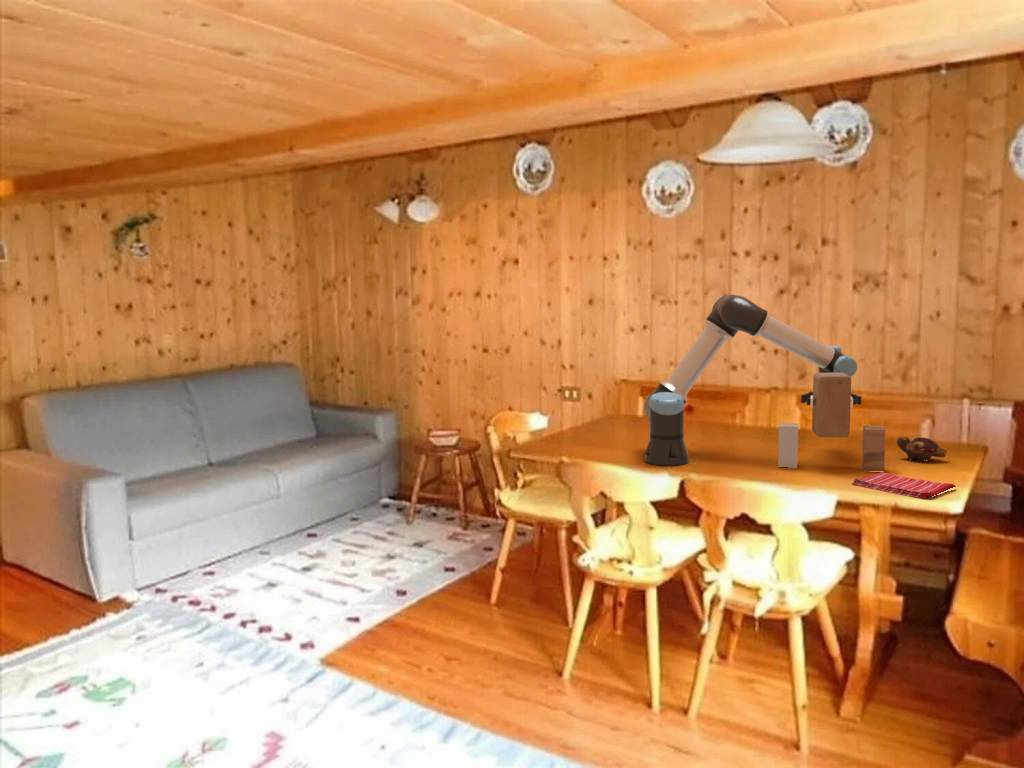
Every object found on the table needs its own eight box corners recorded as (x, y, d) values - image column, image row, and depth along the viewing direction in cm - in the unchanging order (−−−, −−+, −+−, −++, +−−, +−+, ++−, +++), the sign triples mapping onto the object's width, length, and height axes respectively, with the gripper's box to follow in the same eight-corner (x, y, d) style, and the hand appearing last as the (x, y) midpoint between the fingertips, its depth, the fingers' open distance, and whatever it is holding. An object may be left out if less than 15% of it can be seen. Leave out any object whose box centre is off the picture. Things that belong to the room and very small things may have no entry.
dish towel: (928, 502, 227) (929, 493, 226) (850, 486, 246) (850, 477, 245) (958, 491, 237) (958, 482, 236) (880, 477, 256) (881, 468, 255)
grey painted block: (797, 468, 268) (798, 426, 266) (778, 467, 270) (778, 426, 268) (797, 464, 273) (798, 423, 271) (778, 463, 275) (779, 423, 273)
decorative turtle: (894, 455, 282) (896, 433, 281) (943, 461, 276) (946, 438, 275) (896, 460, 273) (898, 437, 272) (946, 466, 267) (949, 442, 266)
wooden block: (850, 437, 260) (852, 375, 257) (817, 437, 261) (819, 376, 259) (842, 431, 270) (844, 372, 267) (811, 431, 271) (812, 372, 269)
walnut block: (883, 472, 259) (885, 429, 257) (863, 471, 261) (864, 429, 259) (882, 468, 264) (883, 426, 262) (862, 467, 266) (863, 425, 265)
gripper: (866, 405, 277) (871, 415, 257) (793, 403, 285) (792, 413, 265) (867, 383, 276) (872, 392, 256) (793, 382, 284) (793, 390, 264)
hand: (831, 403), depth 260 cm, fingers closed on wooden block, 11 cm apart
